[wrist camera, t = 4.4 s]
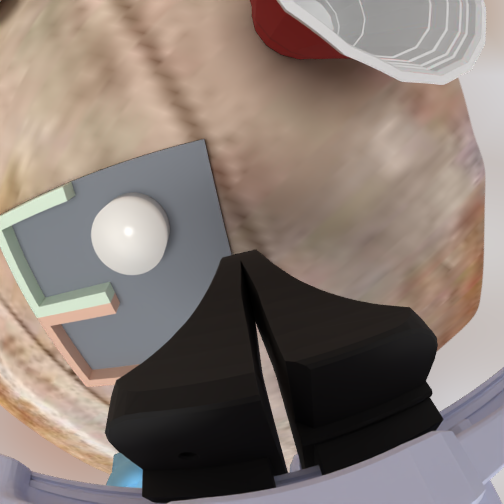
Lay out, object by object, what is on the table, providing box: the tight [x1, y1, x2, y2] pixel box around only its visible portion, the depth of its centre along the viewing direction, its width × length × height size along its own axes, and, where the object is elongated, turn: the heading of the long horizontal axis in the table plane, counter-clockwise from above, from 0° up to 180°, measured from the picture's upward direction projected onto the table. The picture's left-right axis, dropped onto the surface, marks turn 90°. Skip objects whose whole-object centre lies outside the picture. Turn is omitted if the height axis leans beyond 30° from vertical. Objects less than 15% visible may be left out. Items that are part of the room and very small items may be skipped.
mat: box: [0, 139, 231, 370], centre depth 21 cm, size 18×19×1 cm
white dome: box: [91, 192, 170, 275], centre depth 17 cm, size 5×5×2 cm
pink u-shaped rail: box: [37, 293, 140, 387], centre depth 21 cm, size 9×8×1 cm
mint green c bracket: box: [0, 182, 115, 318], centre depth 17 cm, size 9×8×1 cm
